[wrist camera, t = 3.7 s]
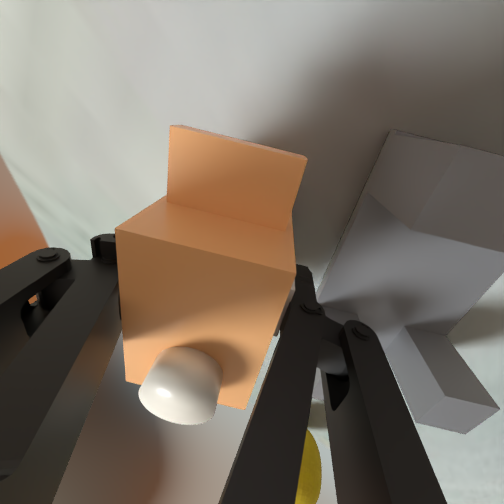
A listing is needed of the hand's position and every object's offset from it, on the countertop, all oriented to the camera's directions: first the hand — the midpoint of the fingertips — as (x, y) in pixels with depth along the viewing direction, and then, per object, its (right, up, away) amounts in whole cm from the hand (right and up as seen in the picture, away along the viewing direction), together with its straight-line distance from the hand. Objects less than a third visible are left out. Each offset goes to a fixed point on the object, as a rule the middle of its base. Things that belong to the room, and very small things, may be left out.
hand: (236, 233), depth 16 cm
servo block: (0, 0, 0) cm, 0 cm away
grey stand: (+11, -2, +1) cm, 12 cm away
